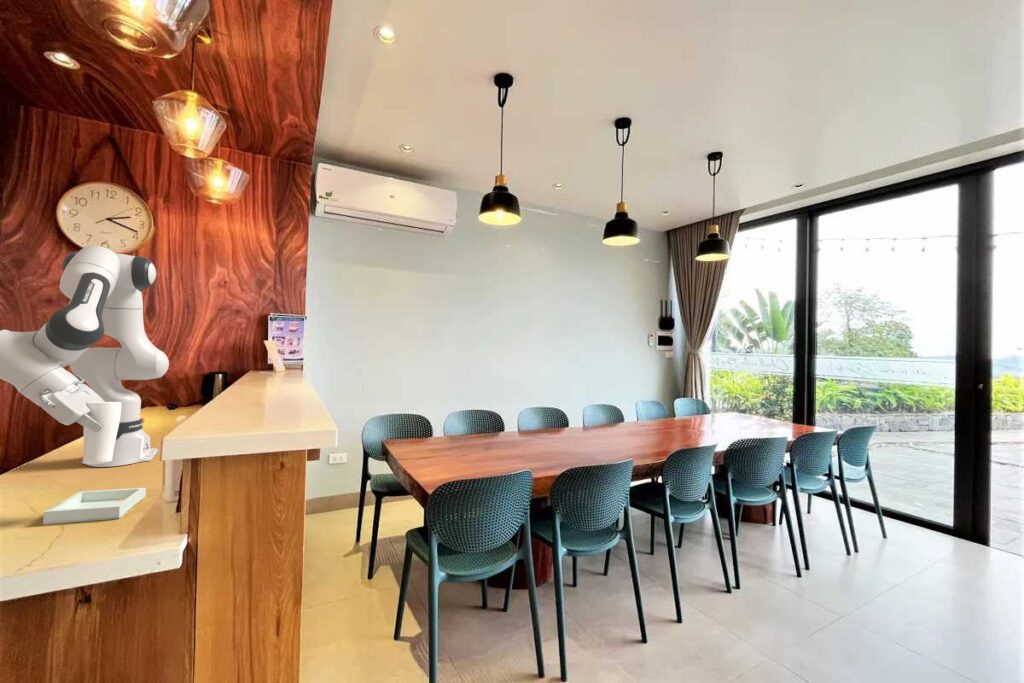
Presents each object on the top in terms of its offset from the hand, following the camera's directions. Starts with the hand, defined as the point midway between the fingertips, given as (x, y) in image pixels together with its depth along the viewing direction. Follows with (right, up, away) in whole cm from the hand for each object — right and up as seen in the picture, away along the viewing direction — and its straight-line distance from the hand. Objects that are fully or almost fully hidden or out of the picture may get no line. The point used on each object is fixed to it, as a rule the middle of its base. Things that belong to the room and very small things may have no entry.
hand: (105, 426), depth 109 cm
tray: (-1, -21, 0) cm, 21 cm away
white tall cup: (-1, -9, -2) cm, 9 cm away
